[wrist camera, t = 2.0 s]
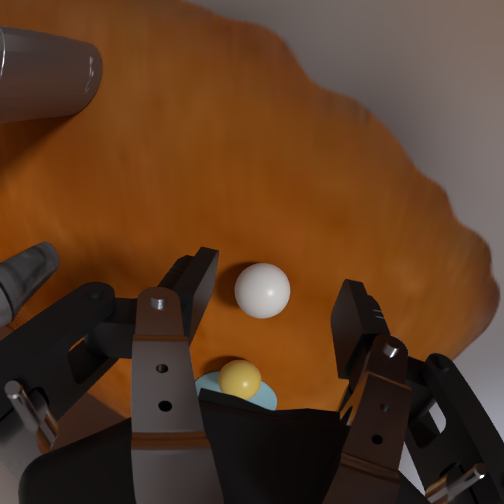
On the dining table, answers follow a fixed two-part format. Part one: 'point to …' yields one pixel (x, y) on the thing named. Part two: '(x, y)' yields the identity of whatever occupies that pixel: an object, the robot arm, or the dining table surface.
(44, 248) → the beverage cup
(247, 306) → the cue ball
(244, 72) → the dining table surface
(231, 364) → the yellow ball
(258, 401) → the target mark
